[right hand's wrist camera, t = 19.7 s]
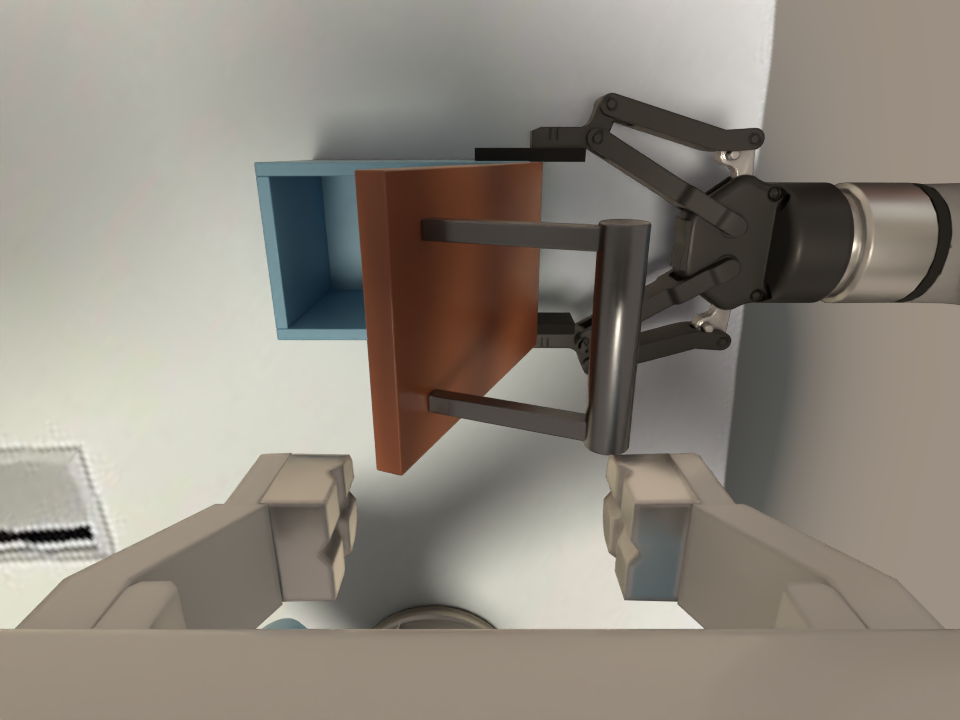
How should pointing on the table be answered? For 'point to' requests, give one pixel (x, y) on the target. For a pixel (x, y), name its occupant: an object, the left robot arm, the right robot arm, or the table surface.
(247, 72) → the table surface
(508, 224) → the lid
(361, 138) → the table surface
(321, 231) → the chest
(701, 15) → the table surface
